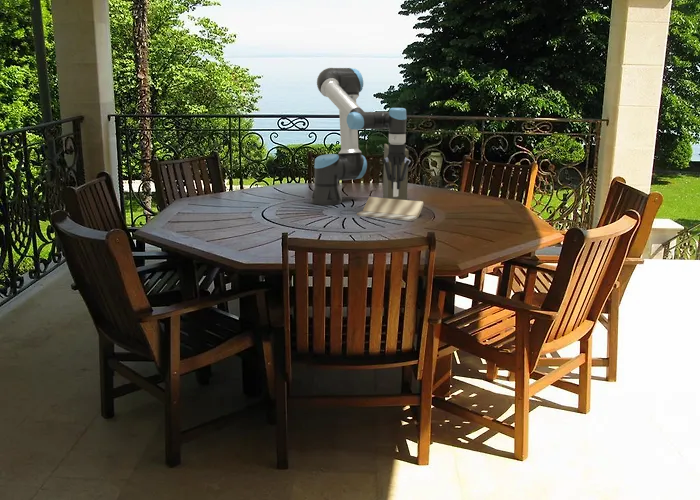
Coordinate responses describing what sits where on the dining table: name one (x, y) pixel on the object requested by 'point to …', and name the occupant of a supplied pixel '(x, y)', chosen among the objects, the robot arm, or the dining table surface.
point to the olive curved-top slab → (387, 183)
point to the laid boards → (387, 215)
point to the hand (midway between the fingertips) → (395, 196)
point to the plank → (394, 206)
